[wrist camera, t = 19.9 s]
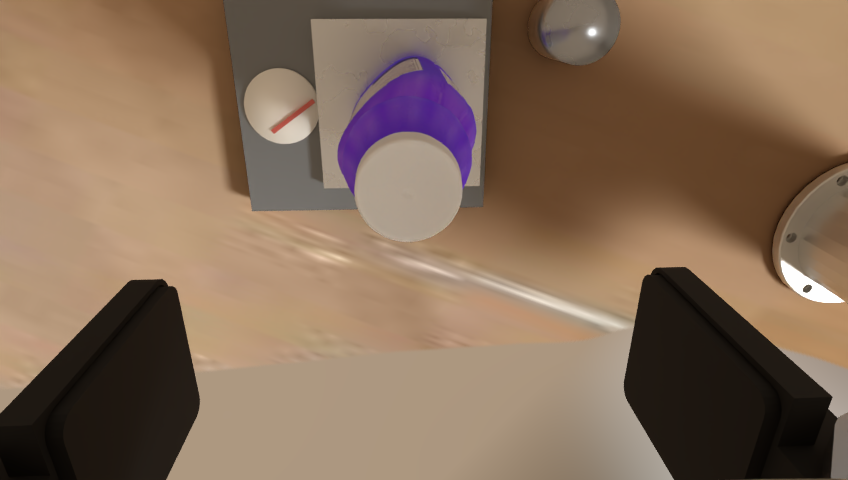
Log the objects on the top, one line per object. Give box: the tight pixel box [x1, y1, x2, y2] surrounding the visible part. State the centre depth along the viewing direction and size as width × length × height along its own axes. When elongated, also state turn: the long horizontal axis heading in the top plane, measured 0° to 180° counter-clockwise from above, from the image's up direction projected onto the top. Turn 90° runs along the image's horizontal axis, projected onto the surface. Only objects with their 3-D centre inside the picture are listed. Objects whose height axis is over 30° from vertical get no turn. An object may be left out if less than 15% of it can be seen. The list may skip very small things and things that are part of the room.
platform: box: [311, 18, 487, 188], centre depth 36 cm, size 11×11×1 cm
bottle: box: [337, 56, 477, 242], centre depth 28 cm, size 7×6×17 cm
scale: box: [223, 0, 493, 211], centre depth 37 cm, size 17×15×3 cm
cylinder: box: [528, 0, 620, 65], centre depth 34 cm, size 4×4×6 cm
